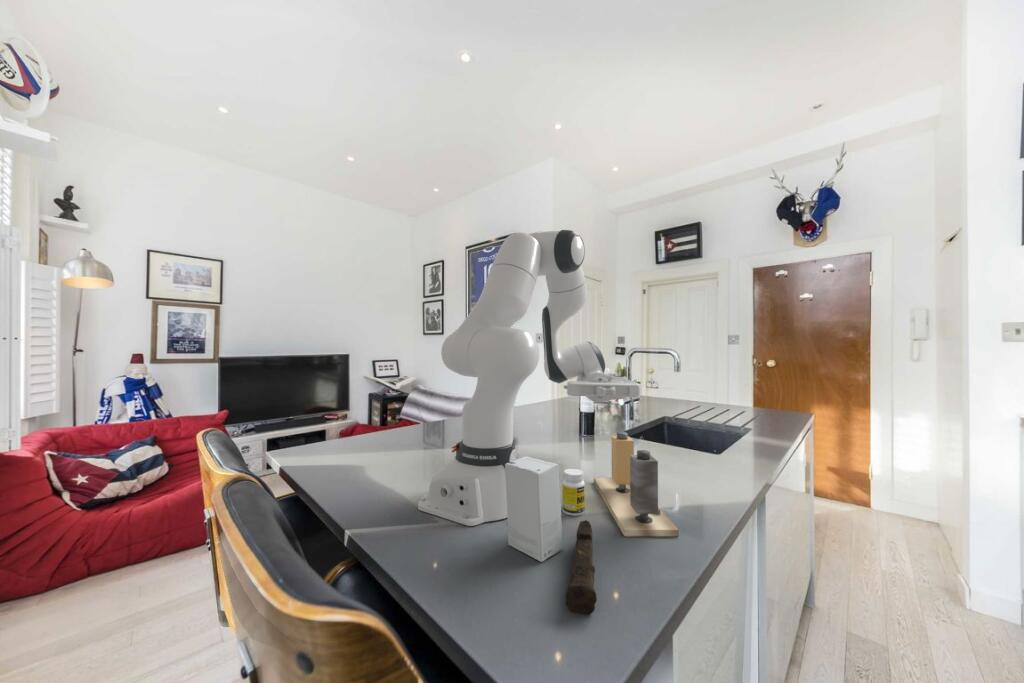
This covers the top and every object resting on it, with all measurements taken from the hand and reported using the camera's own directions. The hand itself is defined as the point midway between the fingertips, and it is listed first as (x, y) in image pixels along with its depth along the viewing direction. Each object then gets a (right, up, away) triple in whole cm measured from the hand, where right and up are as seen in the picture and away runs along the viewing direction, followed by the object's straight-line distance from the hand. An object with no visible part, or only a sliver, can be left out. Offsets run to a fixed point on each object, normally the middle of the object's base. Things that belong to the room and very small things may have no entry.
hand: (609, 392), depth 97 cm
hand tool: (-15, -23, -39) cm, 48 cm away
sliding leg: (0, -21, -11) cm, 24 cm away
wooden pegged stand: (0, -23, -16) cm, 28 cm away
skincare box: (-22, -23, -32) cm, 45 cm away
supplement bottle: (-12, -23, -19) cm, 32 cm away
